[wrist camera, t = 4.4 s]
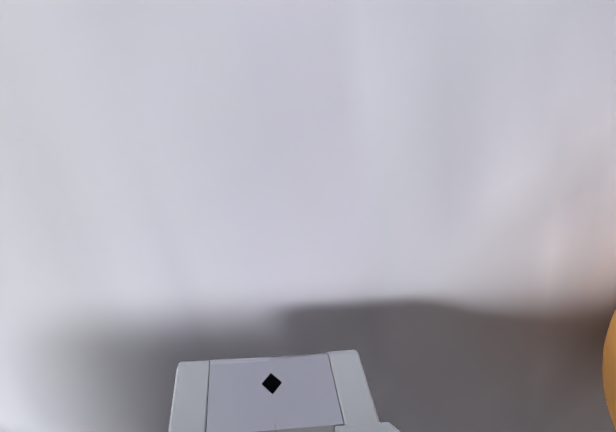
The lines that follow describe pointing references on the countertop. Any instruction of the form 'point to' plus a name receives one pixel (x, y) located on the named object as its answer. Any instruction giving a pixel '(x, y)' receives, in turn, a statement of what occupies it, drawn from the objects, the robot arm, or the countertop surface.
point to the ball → (610, 369)
